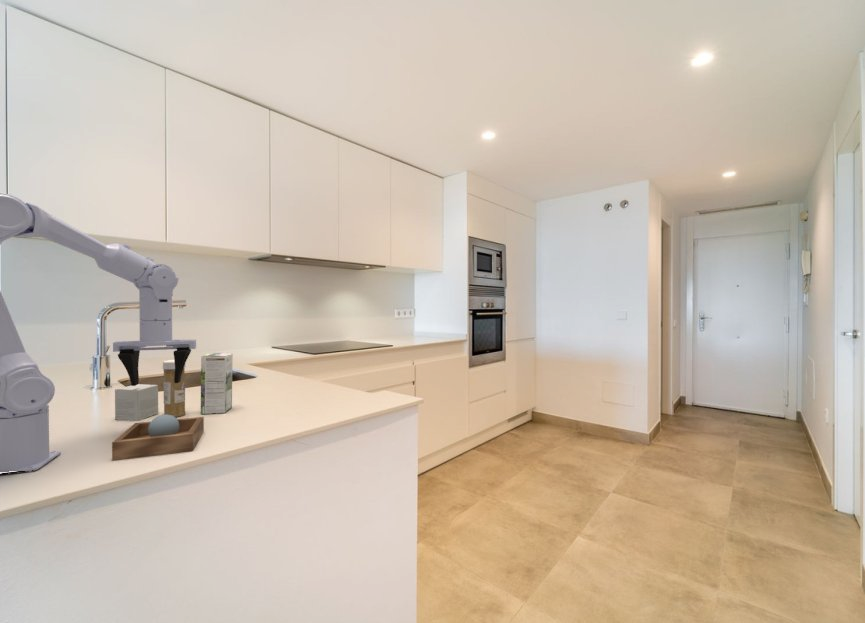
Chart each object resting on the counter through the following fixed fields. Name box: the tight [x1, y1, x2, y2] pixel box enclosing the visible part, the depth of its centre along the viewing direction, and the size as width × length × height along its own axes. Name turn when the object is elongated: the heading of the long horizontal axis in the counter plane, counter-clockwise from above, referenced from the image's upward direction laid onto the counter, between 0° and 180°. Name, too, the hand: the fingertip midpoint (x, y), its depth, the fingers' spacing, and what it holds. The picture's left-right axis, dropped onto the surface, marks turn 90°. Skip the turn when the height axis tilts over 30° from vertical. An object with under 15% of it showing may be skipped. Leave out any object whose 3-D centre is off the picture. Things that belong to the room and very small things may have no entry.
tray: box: [111, 416, 205, 461], centre depth 75 cm, size 12×12×3 cm
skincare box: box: [114, 383, 159, 422], centre depth 93 cm, size 6×6×7 cm
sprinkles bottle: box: [162, 359, 187, 418], centre depth 94 cm, size 5×5×13 cm
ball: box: [148, 414, 179, 437], centre depth 75 cm, size 5×5×5 cm
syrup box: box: [200, 352, 234, 415], centre depth 98 cm, size 6×6×14 cm
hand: (156, 383), depth 84 cm, fingers open, 7 cm apart
